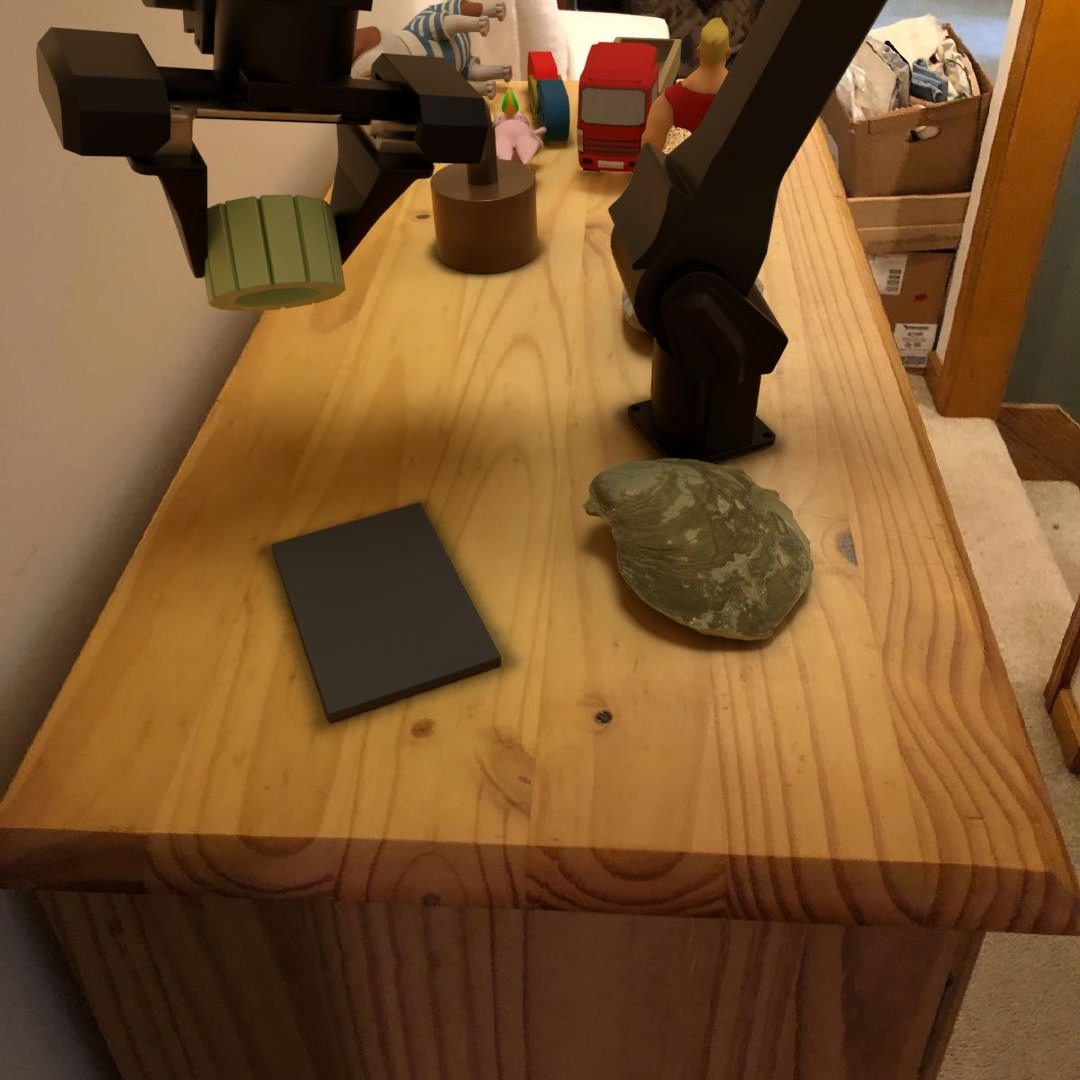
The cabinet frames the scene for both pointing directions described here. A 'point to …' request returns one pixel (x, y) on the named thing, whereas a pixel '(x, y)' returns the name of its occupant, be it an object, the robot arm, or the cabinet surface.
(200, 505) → the cabinet surface
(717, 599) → the seashell
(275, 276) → the ring
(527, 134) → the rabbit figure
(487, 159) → the stand
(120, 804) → the cabinet surface
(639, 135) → the toy truck
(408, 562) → the pad
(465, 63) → the figurine
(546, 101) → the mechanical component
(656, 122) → the action figure
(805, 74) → the robot arm
